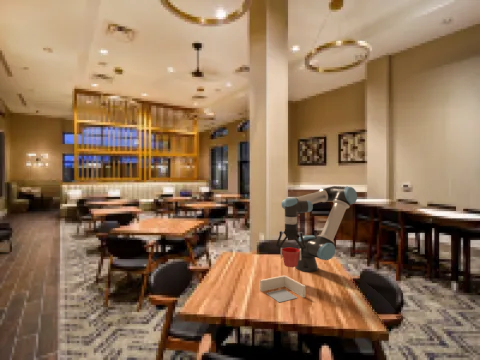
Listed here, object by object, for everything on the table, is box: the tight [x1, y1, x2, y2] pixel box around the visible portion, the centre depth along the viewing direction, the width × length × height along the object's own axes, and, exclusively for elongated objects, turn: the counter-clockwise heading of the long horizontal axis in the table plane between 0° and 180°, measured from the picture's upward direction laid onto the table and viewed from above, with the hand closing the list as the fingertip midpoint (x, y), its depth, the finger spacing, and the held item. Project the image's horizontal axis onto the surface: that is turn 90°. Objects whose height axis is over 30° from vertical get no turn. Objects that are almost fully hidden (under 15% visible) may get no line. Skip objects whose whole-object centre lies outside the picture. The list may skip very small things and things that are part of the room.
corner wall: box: [259, 275, 306, 298], centre depth 144 cm, size 18×18×6 cm
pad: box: [265, 288, 298, 303], centre depth 141 cm, size 12×12×1 cm
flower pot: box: [282, 246, 300, 268], centre depth 162 cm, size 11×11×10 cm
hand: (290, 258), depth 162 cm, fingers closed on flower pot, 11 cm apart
